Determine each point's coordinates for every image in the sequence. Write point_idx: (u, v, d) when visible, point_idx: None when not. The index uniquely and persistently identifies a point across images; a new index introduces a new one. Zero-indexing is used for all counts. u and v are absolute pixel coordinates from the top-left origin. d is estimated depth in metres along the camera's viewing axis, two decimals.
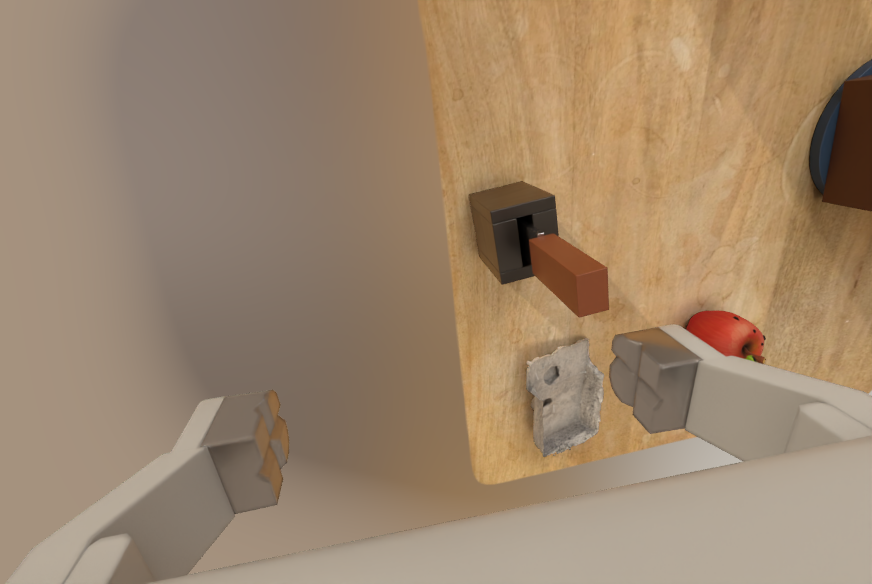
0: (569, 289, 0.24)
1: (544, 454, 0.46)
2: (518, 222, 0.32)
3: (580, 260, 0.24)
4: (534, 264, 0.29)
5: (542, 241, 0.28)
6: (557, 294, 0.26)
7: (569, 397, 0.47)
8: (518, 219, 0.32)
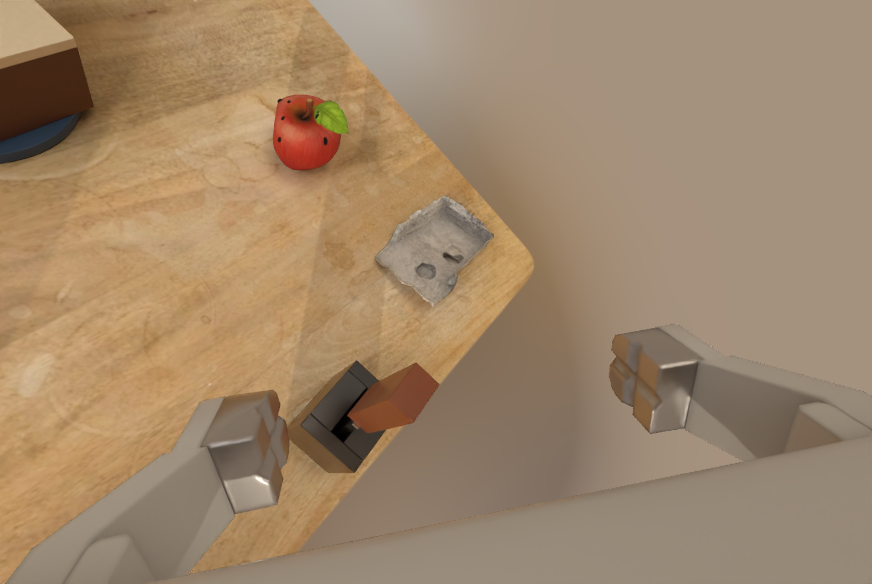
0: None
1: (491, 235, 0.47)
2: (342, 432, 0.30)
3: (385, 412, 0.22)
4: None
5: (366, 426, 0.26)
6: None
7: (431, 237, 0.47)
8: (338, 433, 0.30)
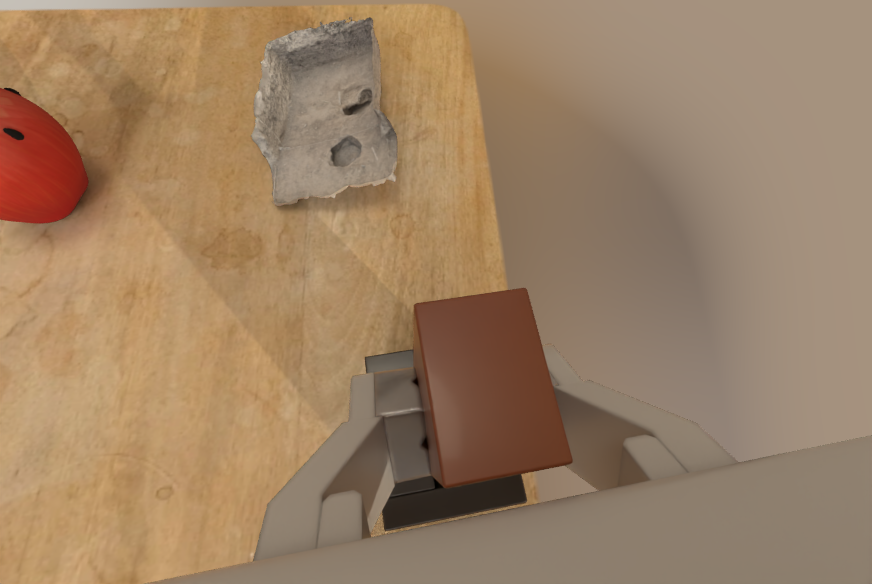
0: None
1: (368, 22, 0.27)
2: None
3: None
4: None
5: None
6: None
7: (311, 110, 0.29)
8: None
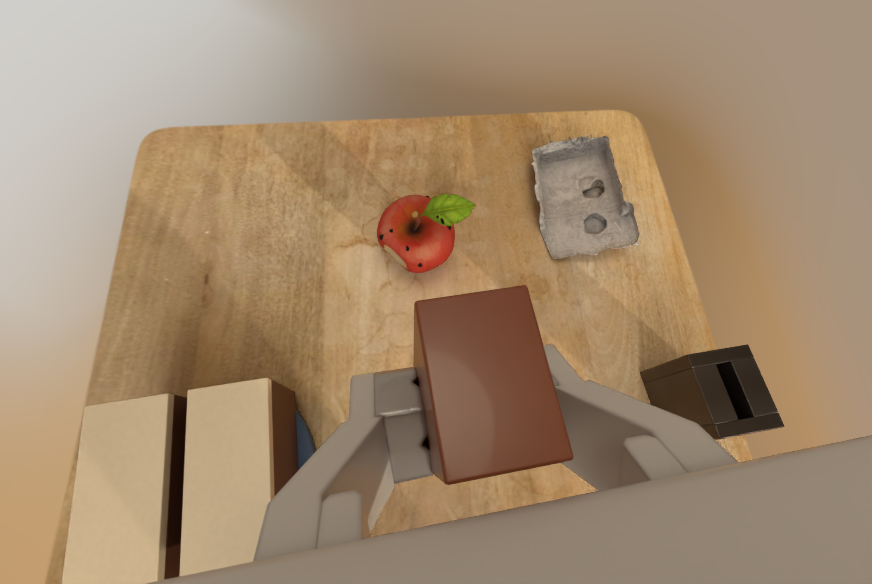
0: None
1: (603, 138, 0.42)
2: None
3: None
4: None
5: None
6: None
7: (559, 193, 0.43)
8: None
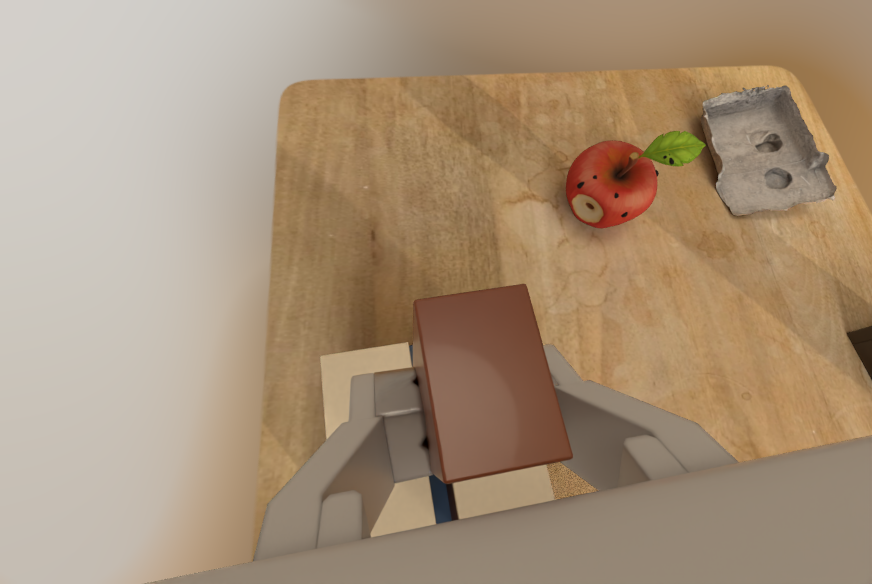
0: None
1: (782, 88, 0.40)
2: None
3: None
4: None
5: None
6: None
7: (730, 148, 0.41)
8: None
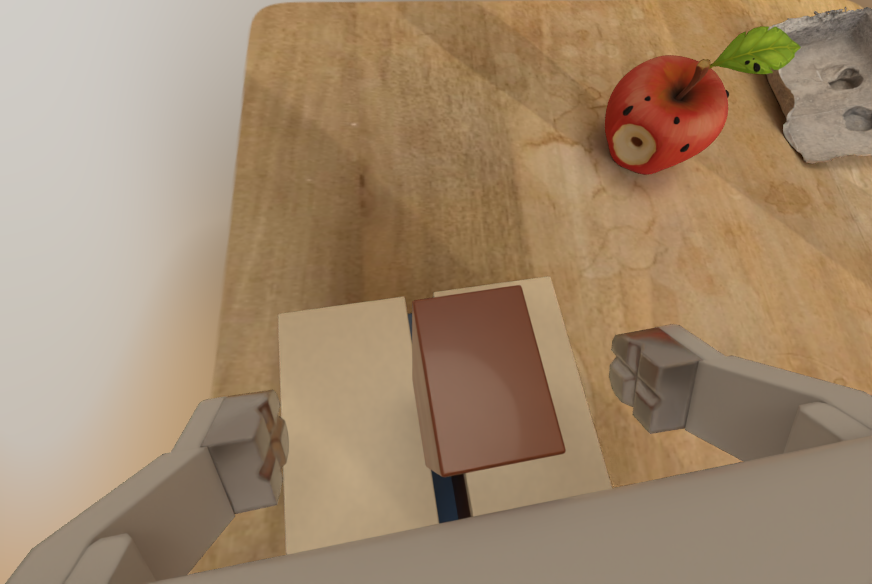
0: None
1: (863, 11, 0.32)
2: None
3: None
4: None
5: None
6: None
7: (797, 86, 0.34)
8: None
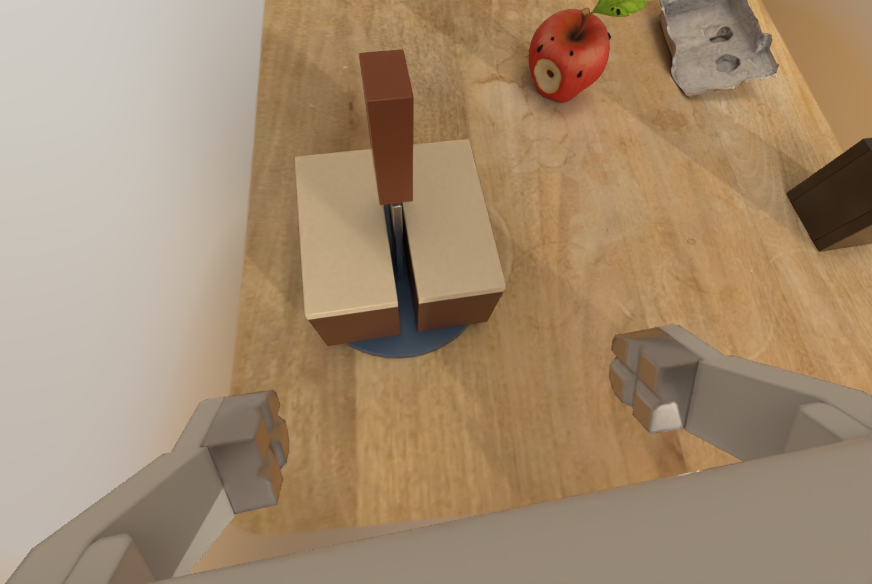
0: None
1: None
2: (402, 239, 0.26)
3: (387, 132, 0.17)
4: None
5: (401, 191, 0.21)
6: None
7: (685, 41, 0.44)
8: (400, 243, 0.26)
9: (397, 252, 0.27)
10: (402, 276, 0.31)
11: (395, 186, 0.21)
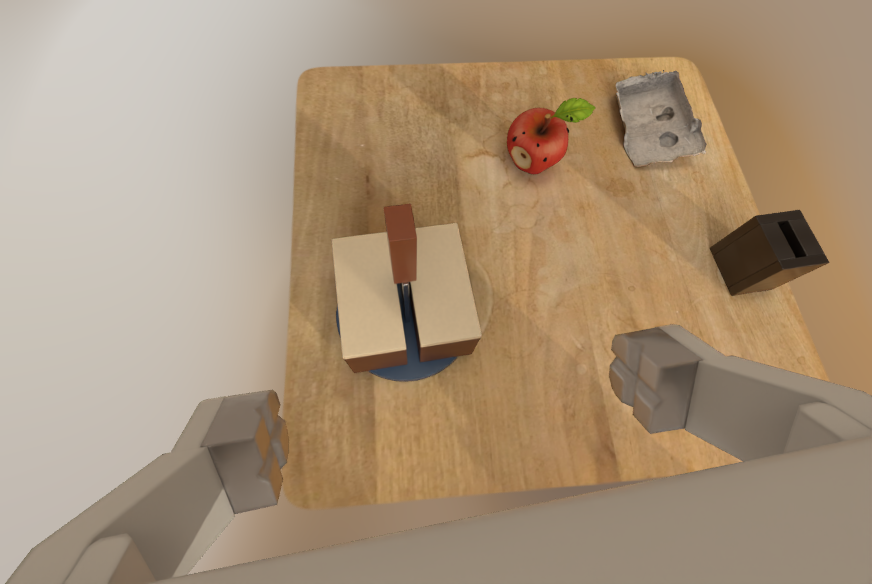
0: None
1: (674, 73, 0.53)
2: None
3: (400, 252, 0.28)
4: None
5: (409, 276, 0.32)
6: None
7: (637, 118, 0.54)
8: (408, 302, 0.37)
9: (405, 307, 0.38)
10: (408, 320, 0.41)
11: (405, 274, 0.31)
